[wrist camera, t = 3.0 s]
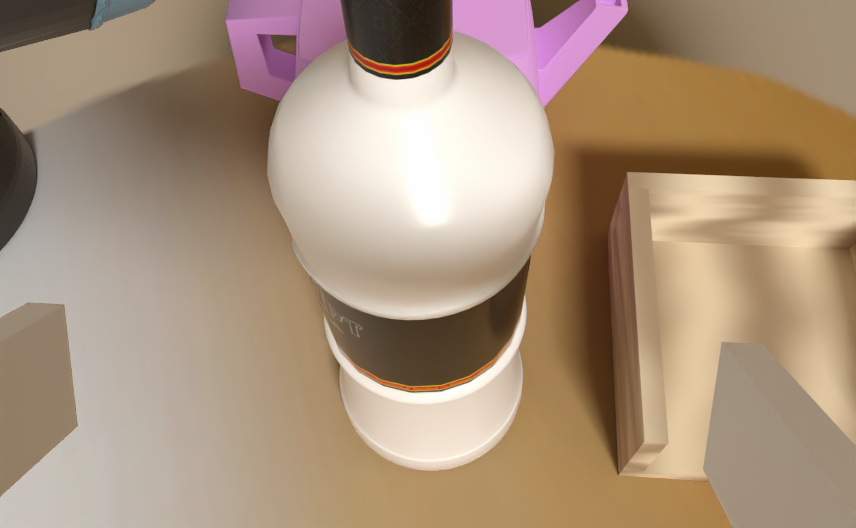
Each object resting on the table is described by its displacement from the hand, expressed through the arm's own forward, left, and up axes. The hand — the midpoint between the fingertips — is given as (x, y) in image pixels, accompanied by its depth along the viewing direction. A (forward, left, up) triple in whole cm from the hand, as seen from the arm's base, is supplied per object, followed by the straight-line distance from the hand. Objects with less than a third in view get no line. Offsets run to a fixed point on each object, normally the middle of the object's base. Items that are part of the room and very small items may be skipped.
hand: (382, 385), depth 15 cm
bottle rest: (+16, +11, -24) cm, 31 cm away
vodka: (0, +8, -24) cm, 25 cm away
